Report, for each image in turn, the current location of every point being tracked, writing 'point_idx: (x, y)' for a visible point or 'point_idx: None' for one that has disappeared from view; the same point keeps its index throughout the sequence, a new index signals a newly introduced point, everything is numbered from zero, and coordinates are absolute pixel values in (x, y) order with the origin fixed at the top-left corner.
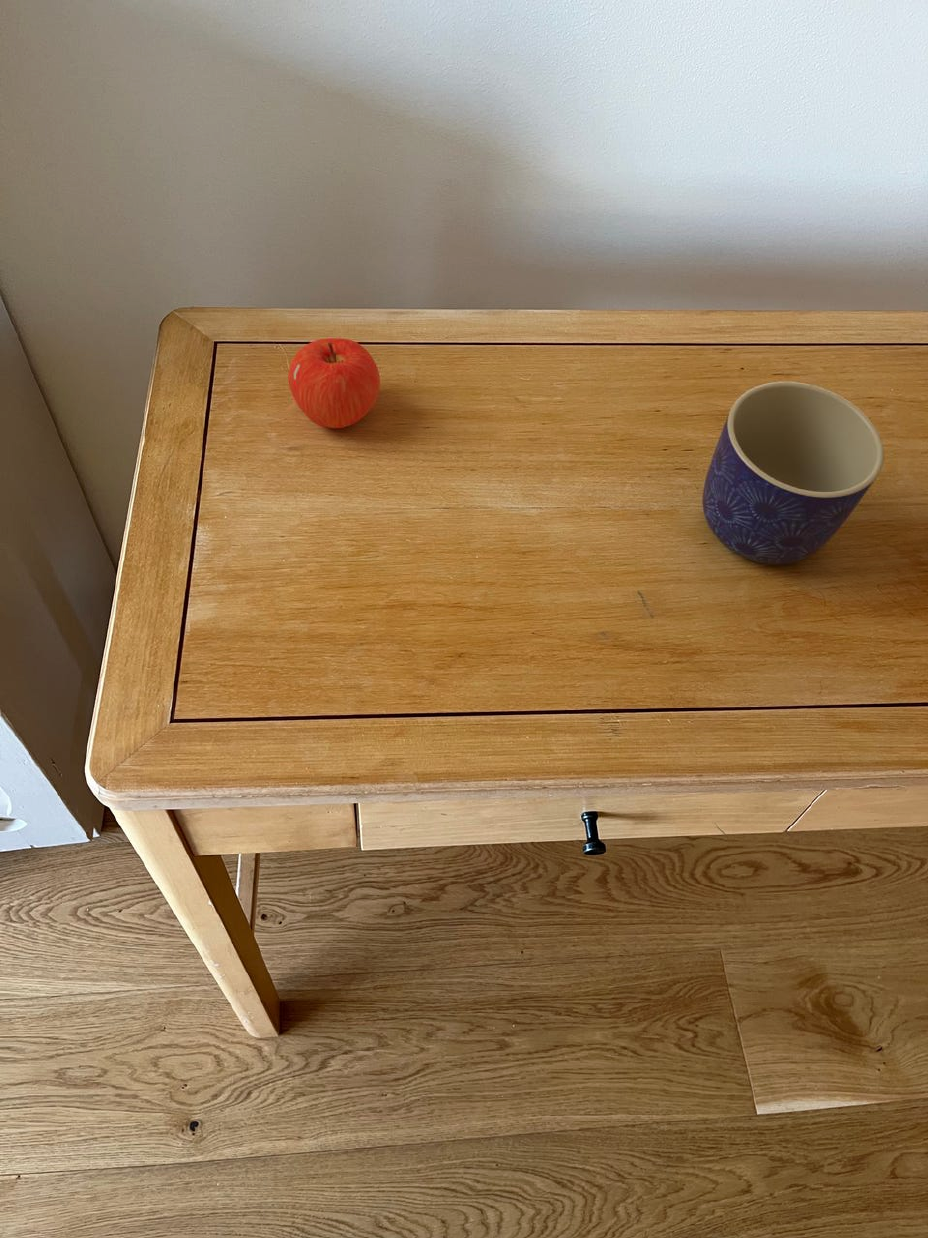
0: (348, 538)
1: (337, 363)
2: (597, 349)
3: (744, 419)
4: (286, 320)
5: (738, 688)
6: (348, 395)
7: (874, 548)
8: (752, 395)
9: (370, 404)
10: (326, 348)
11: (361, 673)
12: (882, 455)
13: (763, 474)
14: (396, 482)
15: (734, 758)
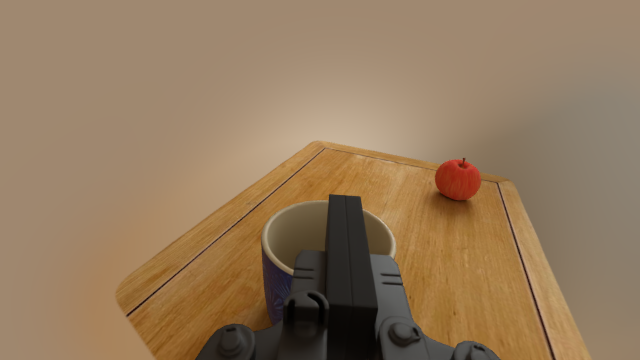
0: (378, 181)
1: (455, 163)
2: (531, 309)
3: (380, 254)
4: (519, 199)
5: (227, 243)
6: (440, 169)
7: None
8: (384, 231)
9: (444, 185)
10: (468, 166)
11: (318, 170)
12: (280, 264)
13: (308, 201)
14: (405, 197)
15: (201, 226)
